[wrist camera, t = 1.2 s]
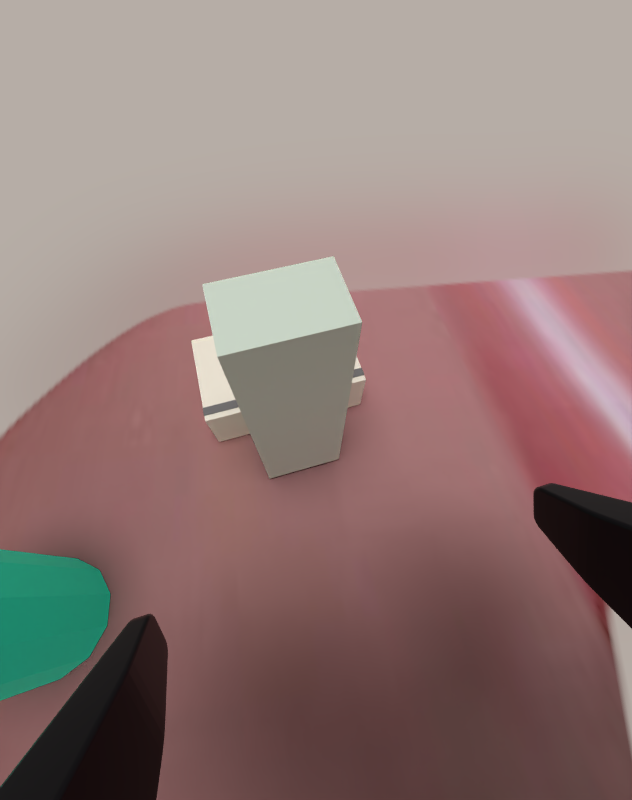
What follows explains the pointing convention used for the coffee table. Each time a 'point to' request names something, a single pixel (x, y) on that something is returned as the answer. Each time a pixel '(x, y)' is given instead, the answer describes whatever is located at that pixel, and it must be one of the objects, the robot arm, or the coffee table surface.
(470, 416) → the coffee table surface
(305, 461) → the pale green upright box
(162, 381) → the coffee table surface
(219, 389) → the block
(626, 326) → the coffee table surface
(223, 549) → the coffee table surface
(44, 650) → the candle
